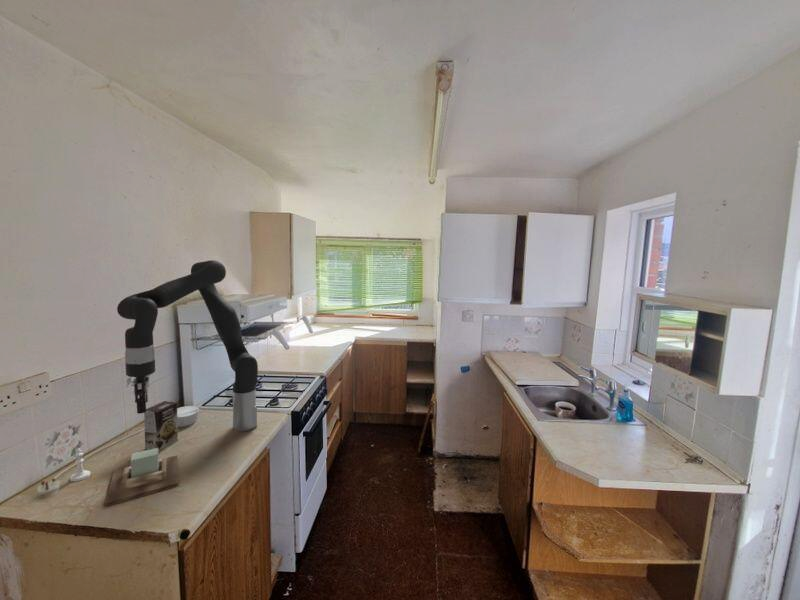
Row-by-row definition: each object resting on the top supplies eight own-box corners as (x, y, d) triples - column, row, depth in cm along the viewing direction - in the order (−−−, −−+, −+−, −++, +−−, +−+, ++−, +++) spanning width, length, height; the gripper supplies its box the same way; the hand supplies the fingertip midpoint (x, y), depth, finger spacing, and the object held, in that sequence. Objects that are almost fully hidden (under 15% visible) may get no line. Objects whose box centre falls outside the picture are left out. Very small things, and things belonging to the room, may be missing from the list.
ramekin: (189, 429, 144) (188, 417, 144) (163, 427, 144) (163, 416, 144) (204, 417, 155) (204, 406, 155) (181, 415, 156) (180, 405, 155)
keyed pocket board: (177, 457, 124) (177, 448, 123) (178, 485, 109) (177, 475, 108) (114, 473, 113) (113, 463, 113) (105, 506, 99) (105, 495, 98)
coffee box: (158, 452, 126) (157, 412, 125) (144, 449, 128) (142, 409, 126) (178, 440, 135) (177, 402, 133) (165, 437, 136) (164, 400, 135)
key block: (133, 475, 111) (132, 453, 110) (158, 469, 115) (158, 447, 114) (131, 483, 107) (130, 460, 106) (158, 476, 111) (157, 454, 110)
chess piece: (79, 472, 113) (77, 444, 112) (94, 472, 114) (92, 444, 112) (65, 481, 108) (63, 452, 107) (82, 481, 109) (80, 452, 108)
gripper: (127, 355, 110) (130, 401, 112) (122, 367, 98) (125, 419, 100) (155, 352, 114) (157, 397, 116) (153, 363, 103) (156, 413, 104)
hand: (142, 407), depth 108 cm, fingers open, 8 cm apart
